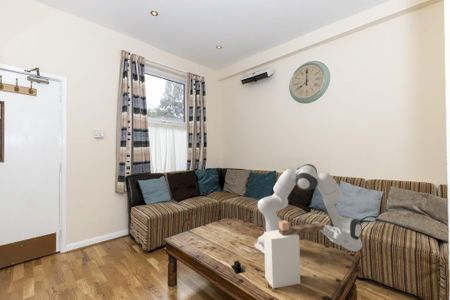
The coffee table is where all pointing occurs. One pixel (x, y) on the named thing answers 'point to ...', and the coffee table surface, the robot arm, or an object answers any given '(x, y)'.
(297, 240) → the pedestal
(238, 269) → the black angular part
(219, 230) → the coffee table surface
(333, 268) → the coffee table surface
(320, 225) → the walnut strip
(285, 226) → the terracotta cube
